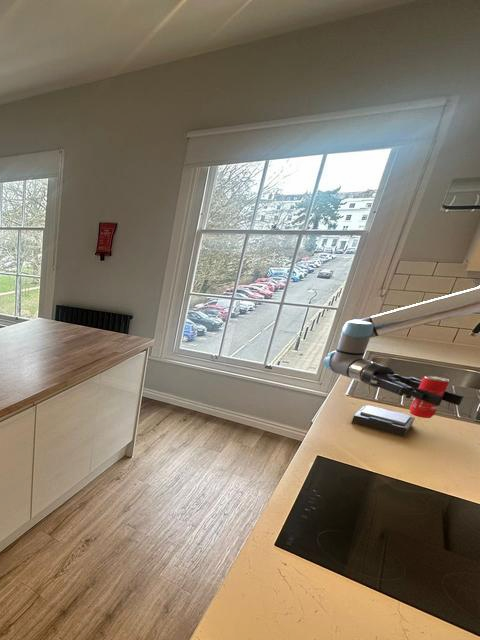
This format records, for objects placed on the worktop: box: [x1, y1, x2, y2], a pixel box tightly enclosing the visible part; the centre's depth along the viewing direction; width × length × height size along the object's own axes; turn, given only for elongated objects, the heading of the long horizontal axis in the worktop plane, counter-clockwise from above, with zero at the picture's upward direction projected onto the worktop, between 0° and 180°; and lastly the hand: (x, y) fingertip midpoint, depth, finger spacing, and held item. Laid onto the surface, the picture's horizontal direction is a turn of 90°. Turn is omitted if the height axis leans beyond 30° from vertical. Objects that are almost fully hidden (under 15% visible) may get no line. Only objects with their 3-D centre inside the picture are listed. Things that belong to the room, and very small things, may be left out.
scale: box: [350, 405, 416, 437], centre depth 138 cm, size 13×13×4 cm
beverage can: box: [409, 375, 449, 419], centre depth 119 cm, size 5×5×12 cm
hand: (449, 400), depth 114 cm, fingers closed on beverage can, 5 cm apart
